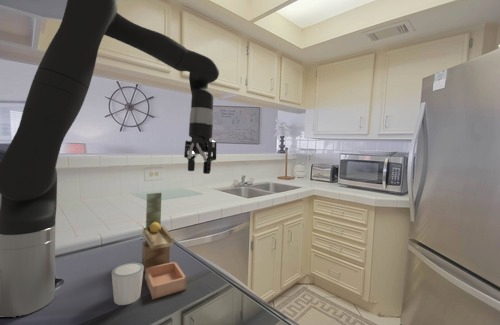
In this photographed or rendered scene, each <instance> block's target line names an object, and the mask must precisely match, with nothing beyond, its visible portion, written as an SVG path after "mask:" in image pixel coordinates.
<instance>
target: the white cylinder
mask: <svg viewBox="0 0 500 325" xmlns="http://www.w3.org/2000/svg"><path fill="white" fill-rule="evenodd" d="M143 276H144V266H143V265H142V263H140V262H127V263H123V264H120V265H118V266H116V267H114V268H113V269H112V270H111V282H112V293H113V301H114V304H116V305H117V306H126V305H130V304H133V303H135V302H136V301H138V300H139V299H140V298H141V295H142V294H141V291H142V287H143V286H142V284H143V278H144V277H143Z"/></svg>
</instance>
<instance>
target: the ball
mask: <svg viewBox="0 0 500 325" xmlns="http://www.w3.org/2000/svg"><path fill="white" fill-rule="evenodd" d="M160 227H161V226H160V224H159V223H157V222H154V223H152V224H151V225H150V231H151V232H153V233H156V232H158V231H159V230H160Z"/></svg>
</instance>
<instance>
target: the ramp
mask: <svg viewBox="0 0 500 325" xmlns="http://www.w3.org/2000/svg"><path fill="white" fill-rule="evenodd" d="M145 208H146V210H145V212H146V216H145V217H146V218H145V227H143V229H142V231H141V233H142V235H143V237H144V239H145V241H147V243H148V245H149V247H150V248H151V250H153V249H158V248H163V247H169V246H170V247H173V246H174V243H175V237H174V236H173V235H172V234H171V233H170V231H169V230H167V228H166V227H165V226H164V225H161V224H162V223H161V221H162V220H161V218H162V216H161V215H162V192H147V193H146V207H145ZM154 222H157V223H159V224H160V230H159V231H158V232H156V233H153V232H151V231H150V225H151V224H152V223H154Z"/></svg>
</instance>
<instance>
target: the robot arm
mask: <svg viewBox="0 0 500 325" xmlns="http://www.w3.org/2000/svg"><path fill="white" fill-rule="evenodd" d="M104 36H107V37H109V38H111V39H113V40H116V41H119V42H120V43H124V44H126V45H128V46H130V47H132V48H135V49H137V50H139V51H141V52H143V53H145V54H147V55H149V56H151V57H153V58H154V59H156V60H158V61H160V62H161V63H164V64H165V65H167V66H168V67H170V68H173V69H174V70H175V71H178V72H188V73H189V74H188V80H189V87H190V92H191V103H190V113H189V125H188V126H189V128H188V136H189V137H190V138H191V139H190V140H185V143H184V153H183V158H185V159H187V171H188V172H194V171H195V164H196V158H197V157H198V156H199V155H200V156H201V157H202V159H203V161H204V162H203V170H202V173H203V174H205V175H208V174H210V173H211V168H212V162H213V161H216V160H217V141H216V140H215V141H214V140H210V139H212V138H213V130H214V129H213V126H214V111H213V110H214V94H213V93H212V92H211V91H209V84H212V83H213V82H215V81H216V80H217V79H218V78H219V75H220V70H219V67H218V65H217V63H215V61H214V60H213V59H212V58H210V57H207V56H206V55H204V54H200V53H198V52H196V51H193V50H190V49H188V48H186V47H185V46H183V45H182V44H181V43H179V42H178V41H176V40H174V39H172V38H171V37H170V36H167V35H165V34H163V33H161V32H157V31H155V30H152V29H149V28H146V27H143V26H140V25H138V24H136V23H134V22H133V21H131V20H128V19H127V18H125V17H124V16H122V15H121V14H120V13H118V1H117V0H67V1H66V4H65V9H64V13H63V17H62V20H61V22H60V25H59V26H58V29H57V31H56V32H55V34H54V36H53V38H52V39H51V41H50V43H49V44H48V47H47V48H46V51H45V52H44V54H43V57H42V59H41V61H40V63H39V65H38V67H37V69H36V72H35V74H34V77H33V80H32V82H31V85H30V88H29V92H28V93H27V96H26V100H25V103H24V107H23V110H22V112H21V113H22V114H21V118H20V122H19V125H18V127H17V129H16V132H15V134H14V136H13V138H12V140H11V141H10V143H9V145H8V146H7V149H6V151H5V152H4V154H3V156H2V158H1V159H0V195H1V198H0V200H1V201H0V316H4V317H13V318H17V317H16V316H19V317H23V316H26V315H29V314H31V313H32V314H33V313H35V312H36V311H38V310H41V309H43V308H45V307H46V306H48V305H49V304H51V302H53V300H54V298H55V291H56V290H55V289H56V285H55V284H56V282H55V281H56V216H57V207H58V205H57V204H58V203H57V202H58V200H57V199H58V198H57V196H58V172H57V171H58V170H57V163H58V159H59V154H60V151H61V148H62V144H63V142H64V140H65V138H66V135H67V133H68V132H69V130H70V129H71V127H72V126H73V124H74V122H75V121H76V119H77V116H78V115H79V113H80V110H81V108H82V107H83V105H84V102H85V99H86V96H87V94H88V91H89V88H90V85H91V82H92V78H93V74H94V71H95V67H96V62H97V58H98V53H99V48H100V45H101V43H102V40H103V38H104ZM22 315H23V316H22Z"/></svg>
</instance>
